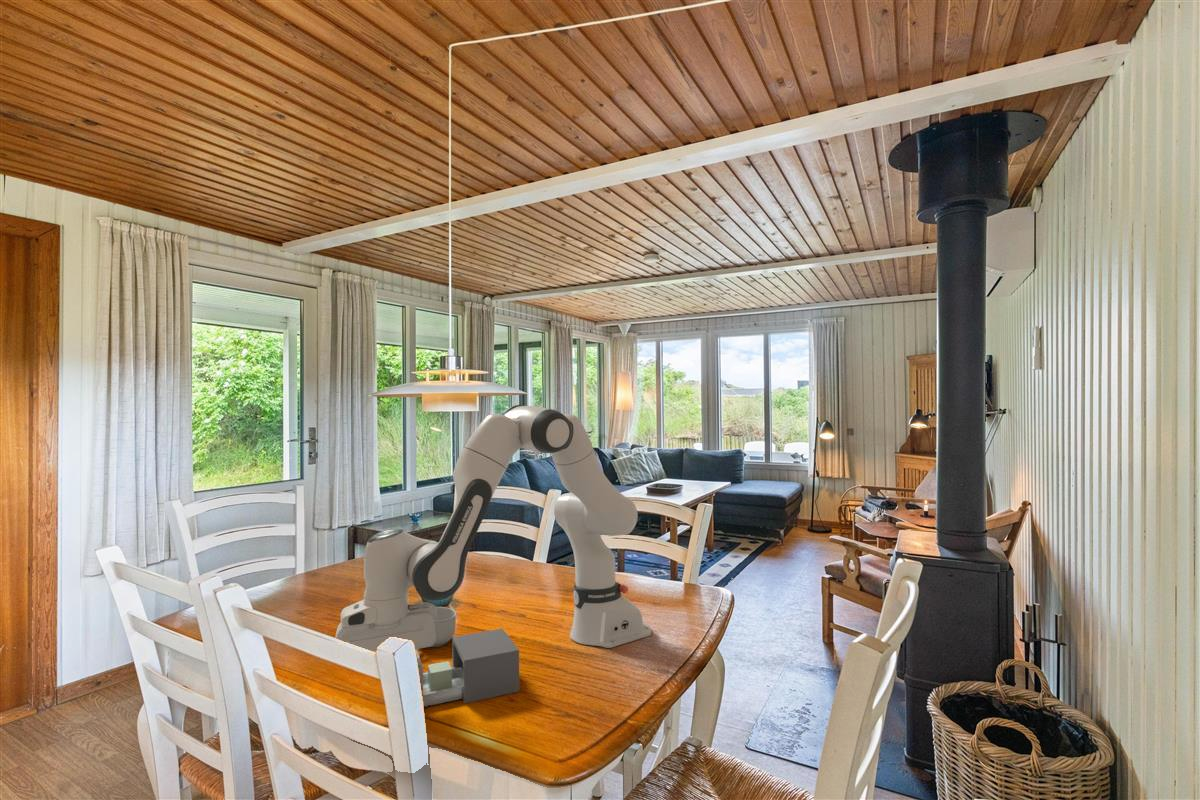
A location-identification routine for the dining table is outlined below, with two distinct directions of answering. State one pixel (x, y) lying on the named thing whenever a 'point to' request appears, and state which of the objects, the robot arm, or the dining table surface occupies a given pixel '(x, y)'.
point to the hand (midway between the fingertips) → (386, 673)
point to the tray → (444, 694)
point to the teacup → (444, 625)
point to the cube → (439, 676)
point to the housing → (486, 664)
